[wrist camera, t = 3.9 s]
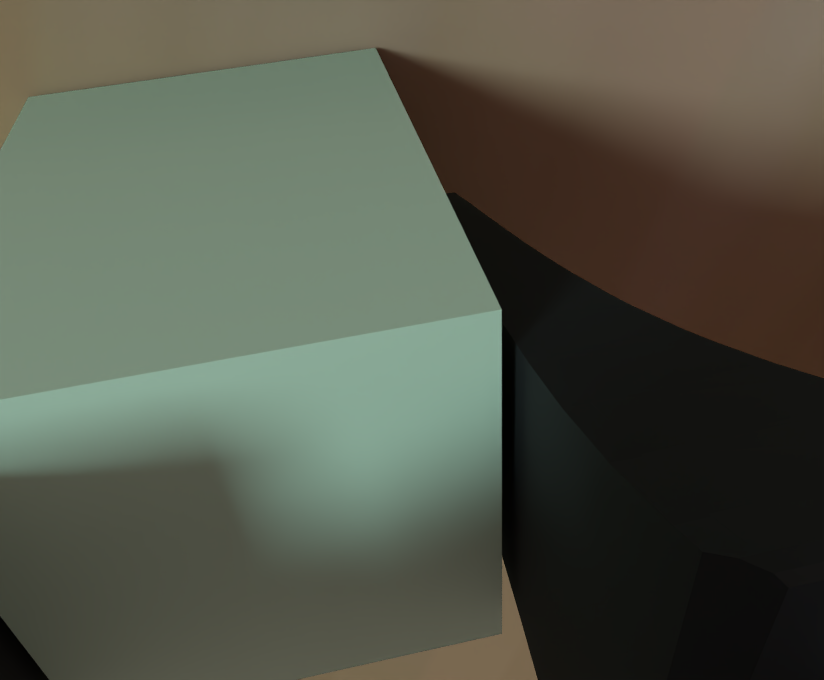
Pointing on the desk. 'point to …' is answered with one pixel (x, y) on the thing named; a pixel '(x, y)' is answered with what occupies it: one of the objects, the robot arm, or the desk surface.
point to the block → (242, 381)
